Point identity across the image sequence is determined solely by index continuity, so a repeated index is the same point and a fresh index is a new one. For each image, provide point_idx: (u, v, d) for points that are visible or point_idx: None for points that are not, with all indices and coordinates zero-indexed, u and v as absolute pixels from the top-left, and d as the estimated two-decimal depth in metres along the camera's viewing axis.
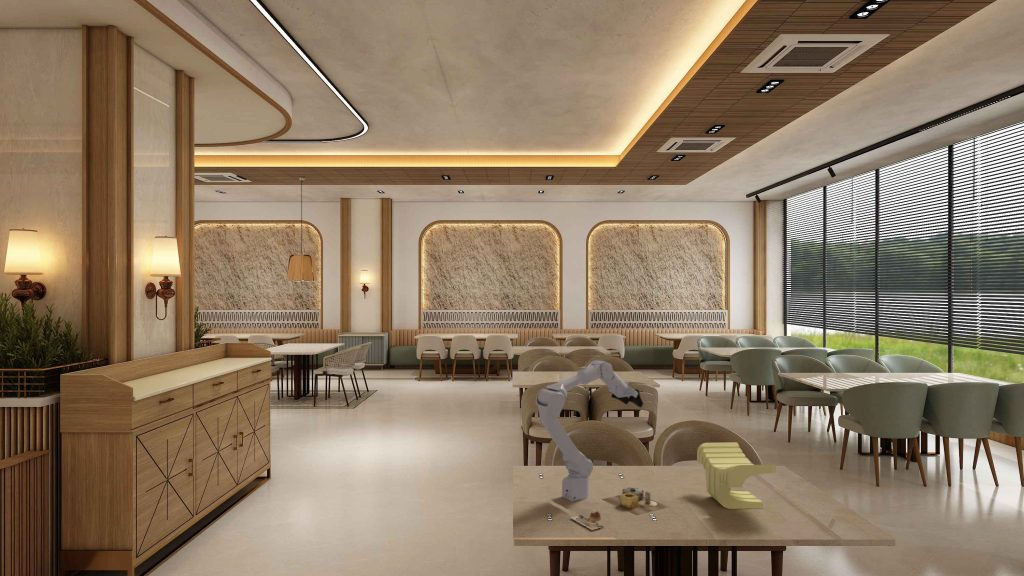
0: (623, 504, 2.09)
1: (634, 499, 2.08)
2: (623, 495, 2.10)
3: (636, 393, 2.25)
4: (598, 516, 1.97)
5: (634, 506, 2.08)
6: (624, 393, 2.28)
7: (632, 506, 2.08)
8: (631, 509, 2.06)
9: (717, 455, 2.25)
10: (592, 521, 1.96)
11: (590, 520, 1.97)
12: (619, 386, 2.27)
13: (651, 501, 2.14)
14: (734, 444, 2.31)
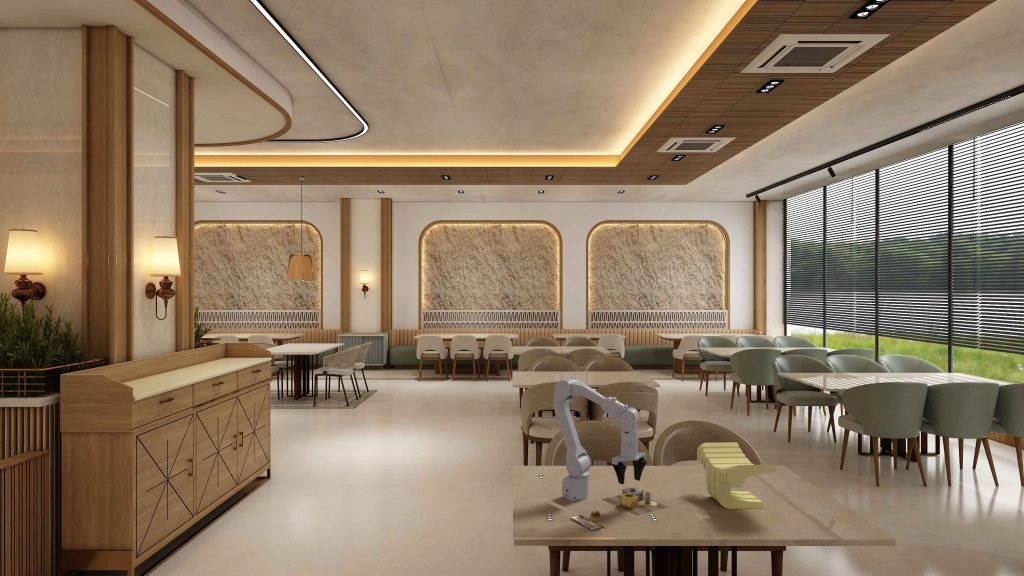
0: (623, 504, 2.09)
1: (634, 499, 2.08)
2: (623, 495, 2.10)
3: (614, 461, 2.06)
4: (598, 516, 1.97)
5: (634, 506, 2.08)
6: (621, 455, 2.10)
7: (632, 506, 2.08)
8: (631, 509, 2.06)
9: (717, 455, 2.25)
10: (592, 521, 1.97)
11: (590, 520, 1.97)
12: (622, 445, 2.09)
13: (651, 501, 2.14)
14: (734, 444, 2.31)
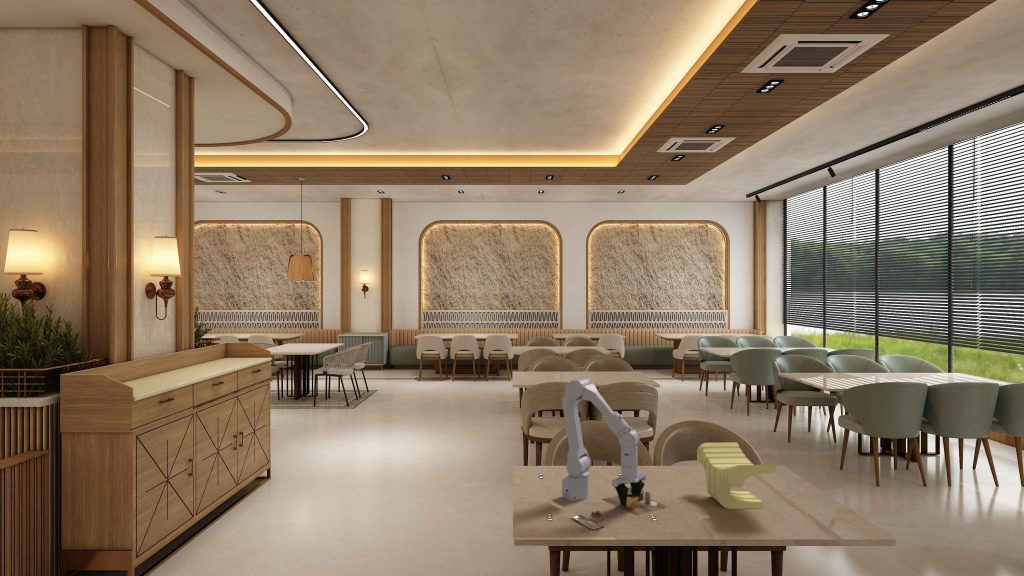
0: None
1: (634, 499, 2.08)
2: None
3: (614, 484, 2.06)
4: (599, 515, 1.97)
5: (634, 506, 2.08)
6: (621, 477, 2.10)
7: (632, 506, 2.08)
8: (631, 509, 2.06)
9: (717, 455, 2.25)
10: None
11: None
12: (622, 467, 2.09)
13: (651, 501, 2.14)
14: (734, 444, 2.31)
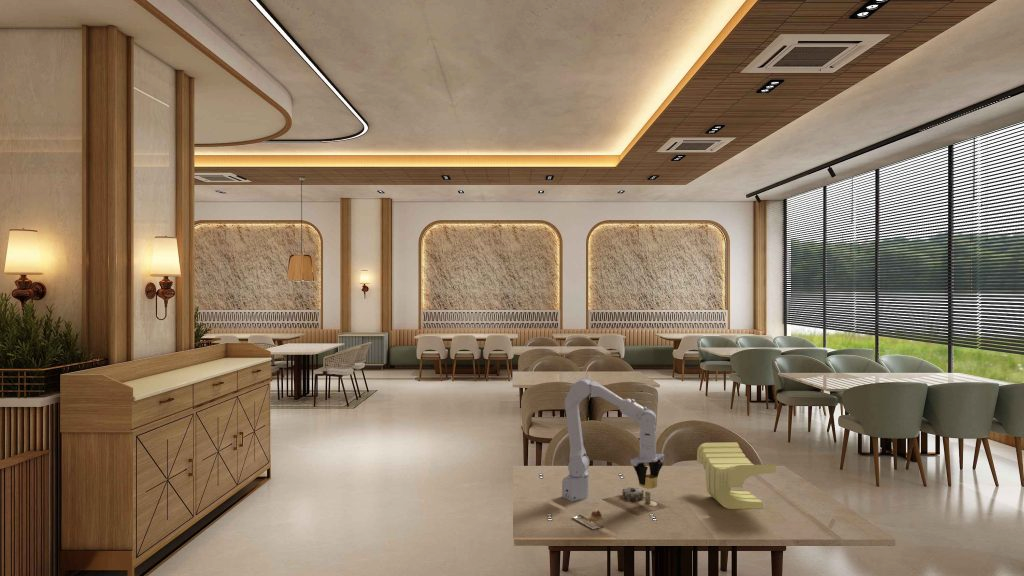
0: None
1: (653, 479, 2.10)
2: None
3: (633, 463, 2.08)
4: (599, 515, 1.97)
5: (653, 486, 2.10)
6: (639, 457, 2.12)
7: (651, 486, 2.10)
8: (631, 509, 2.06)
9: (717, 455, 2.25)
10: None
11: None
12: (640, 446, 2.11)
13: (651, 501, 2.14)
14: (734, 444, 2.31)
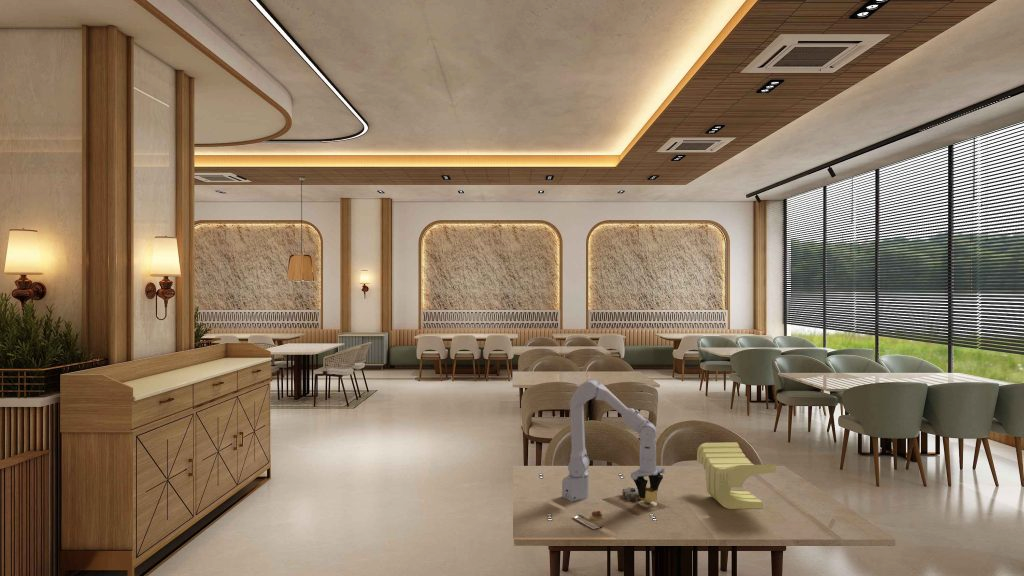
0: (642, 498, 2.11)
1: (653, 493, 2.10)
2: None
3: (633, 476, 2.08)
4: (599, 515, 1.97)
5: (653, 500, 2.10)
6: (639, 470, 2.12)
7: (651, 500, 2.10)
8: (631, 509, 2.06)
9: (717, 455, 2.25)
10: None
11: None
12: (640, 459, 2.11)
13: None
14: (733, 444, 2.31)
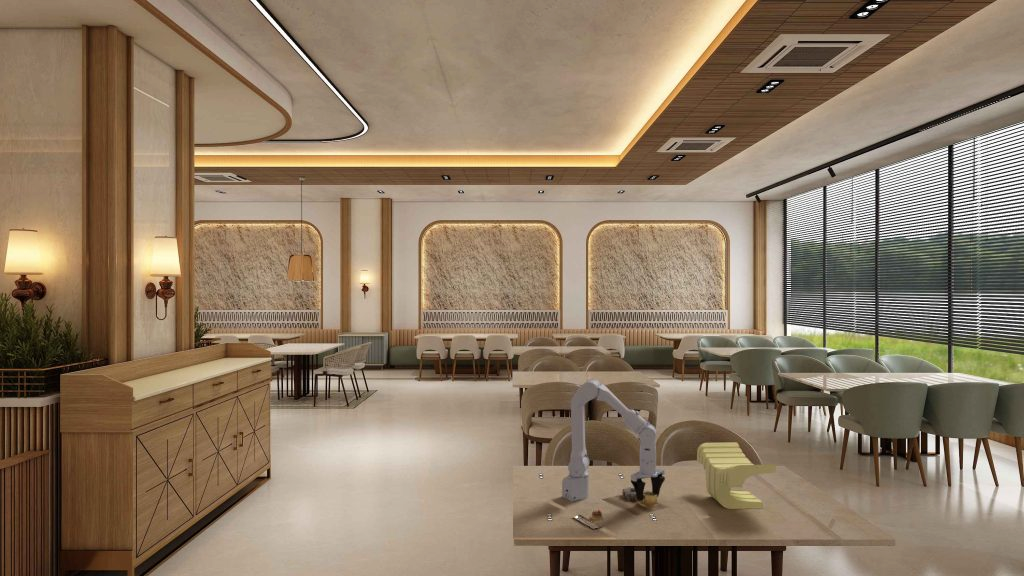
0: (642, 502, 2.11)
1: (653, 497, 2.10)
2: None
3: (633, 478, 2.08)
4: (600, 515, 1.98)
5: (653, 504, 2.10)
6: (639, 472, 2.12)
7: (651, 504, 2.10)
8: (631, 509, 2.06)
9: (717, 455, 2.25)
10: None
11: None
12: (640, 461, 2.11)
13: None
14: (734, 444, 2.31)
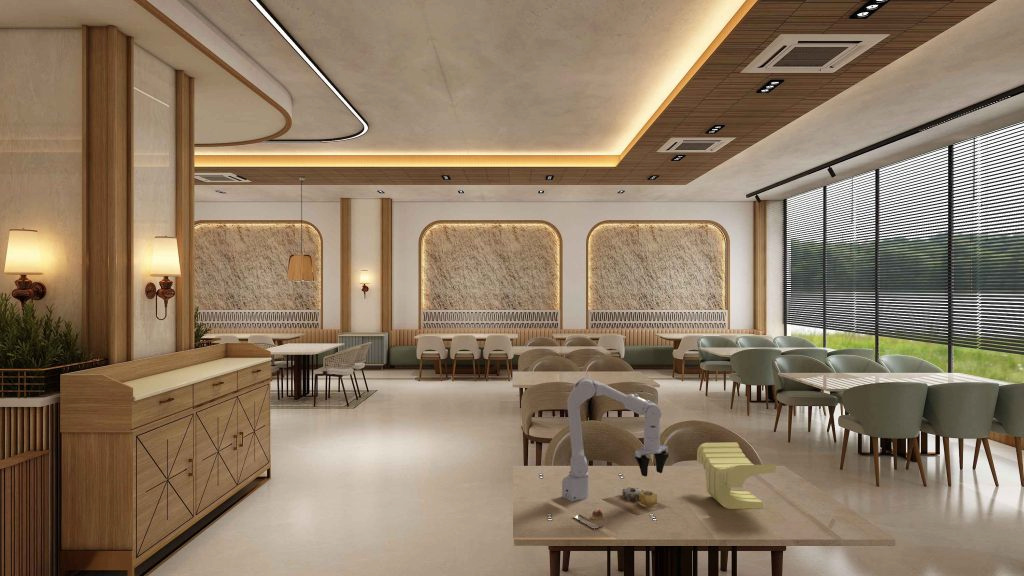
0: (642, 502, 2.11)
1: (653, 497, 2.10)
2: (642, 493, 2.12)
3: (637, 454, 2.13)
4: (600, 515, 1.98)
5: (653, 504, 2.10)
6: (644, 448, 2.17)
7: (651, 504, 2.10)
8: (631, 509, 2.06)
9: (717, 455, 2.25)
10: None
11: None
12: (645, 438, 2.17)
13: None
14: (734, 444, 2.31)
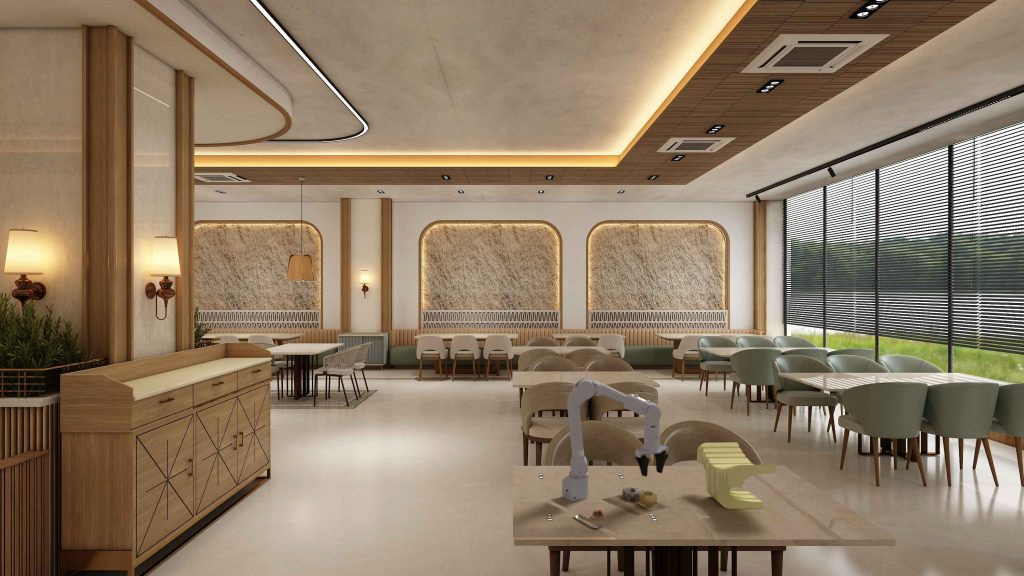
0: (642, 502, 2.11)
1: (653, 497, 2.10)
2: (642, 493, 2.12)
3: (637, 454, 2.13)
4: (600, 515, 1.98)
5: (653, 504, 2.10)
6: (644, 448, 2.17)
7: (651, 504, 2.10)
8: (631, 509, 2.06)
9: (717, 455, 2.25)
10: None
11: None
12: (645, 438, 2.17)
13: None
14: (734, 444, 2.31)
